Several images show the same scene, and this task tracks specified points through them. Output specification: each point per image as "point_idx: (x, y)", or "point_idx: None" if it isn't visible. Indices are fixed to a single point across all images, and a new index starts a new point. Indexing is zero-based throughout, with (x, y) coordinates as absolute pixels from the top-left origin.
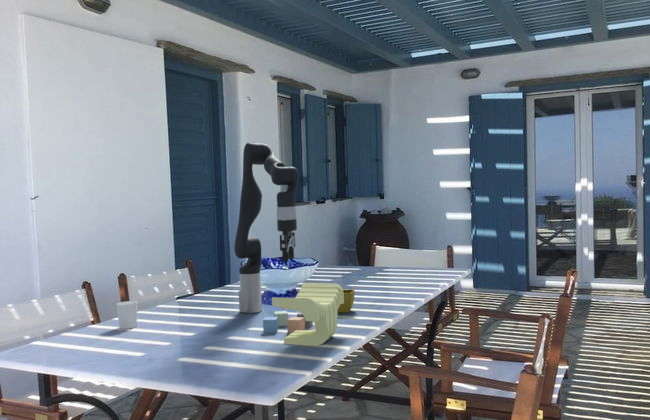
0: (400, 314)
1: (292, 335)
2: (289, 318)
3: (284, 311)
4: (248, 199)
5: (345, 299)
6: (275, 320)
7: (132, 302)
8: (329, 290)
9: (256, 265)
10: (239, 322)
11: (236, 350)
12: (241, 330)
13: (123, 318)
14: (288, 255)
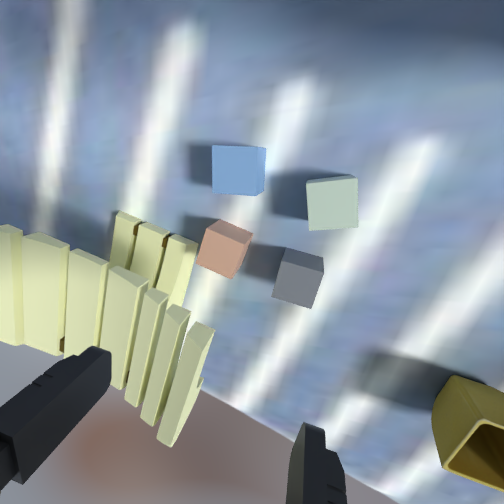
0: (360, 481)
1: (137, 234)
2: (223, 235)
3: (346, 219)
4: None
5: (444, 431)
6: (213, 190)
7: None
8: (150, 403)
9: None
10: (428, 8)
11: (57, 92)
12: (273, 56)
13: None
14: (301, 460)
